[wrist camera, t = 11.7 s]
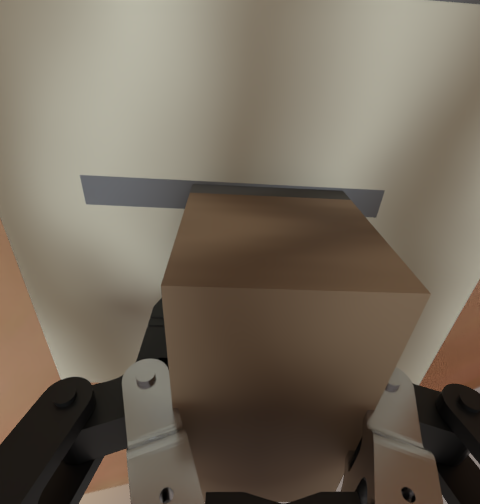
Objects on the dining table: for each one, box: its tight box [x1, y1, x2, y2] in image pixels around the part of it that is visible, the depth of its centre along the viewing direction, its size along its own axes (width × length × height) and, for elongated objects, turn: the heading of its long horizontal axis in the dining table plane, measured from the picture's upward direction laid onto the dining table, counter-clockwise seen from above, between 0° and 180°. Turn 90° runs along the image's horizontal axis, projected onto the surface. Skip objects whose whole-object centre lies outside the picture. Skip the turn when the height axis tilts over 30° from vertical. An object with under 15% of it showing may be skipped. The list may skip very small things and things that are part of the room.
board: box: [0, 0, 480, 385], centre depth 10 cm, size 18×26×2 cm
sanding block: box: [161, 184, 431, 502], centre depth 10 cm, size 5×9×5 cm, turn 177°
